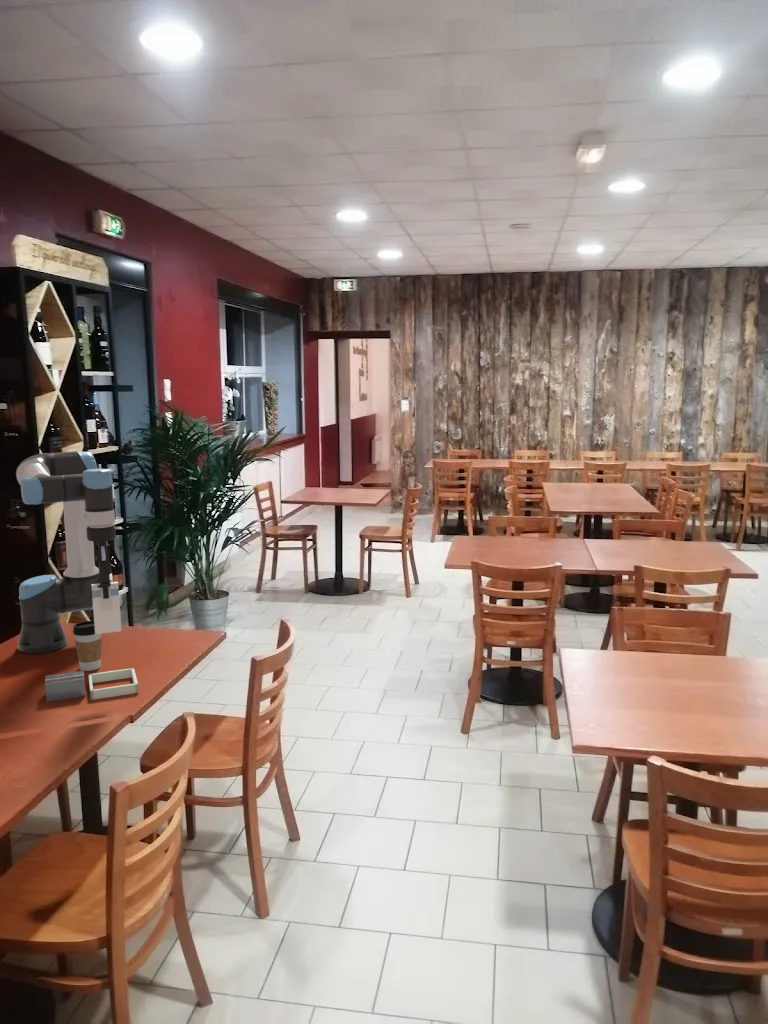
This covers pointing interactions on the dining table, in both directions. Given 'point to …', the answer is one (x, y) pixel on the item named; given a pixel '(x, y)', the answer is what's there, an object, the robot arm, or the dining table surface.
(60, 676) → the dispenser
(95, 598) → the white striped flat box
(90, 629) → the coffee cup
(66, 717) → the dining table surface
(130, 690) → the tray
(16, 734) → the dining table surface
